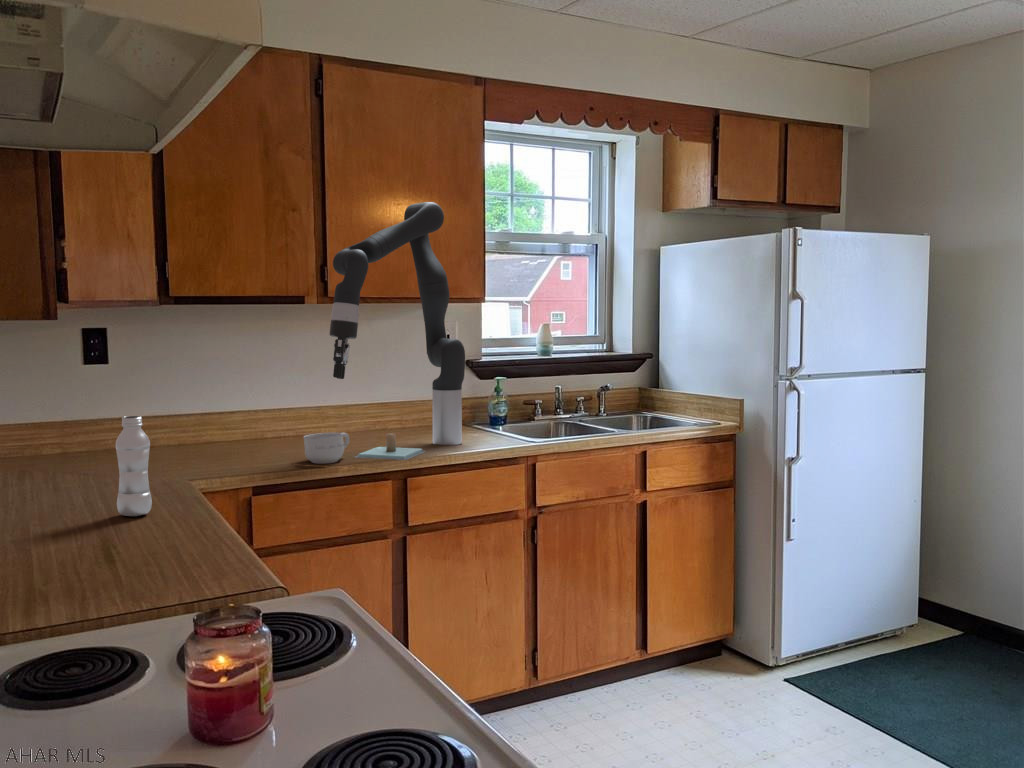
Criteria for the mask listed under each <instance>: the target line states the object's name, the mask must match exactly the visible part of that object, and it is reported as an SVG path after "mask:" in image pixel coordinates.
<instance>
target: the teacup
mask: <svg viewBox="0 0 1024 768" xmlns="http://www.w3.org/2000/svg"><path fill="white" fill-rule="evenodd" d="M302 438H303V443H304V455H305V458H306V459H307V460H308V461H310V462H311V463H313V464H319V465H320V464H321V465H322V464H333V463H337V462H338V461H339V460H340V459H341V458H342V457H343V455H344V451H345V449H346V448H347V446H348V445H349V444H350V440H351V438H350V435H349V434H348V433H347V432H320V433H310V434H306V435H303V437H302Z"/></svg>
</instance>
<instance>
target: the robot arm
mask: <svg viewBox="0 0 1024 768" xmlns="http://www.w3.org/2000/svg"><path fill="white" fill-rule="evenodd" d="M444 221H445V215H444V211H443V209H442V206H440V205H439V204H437V203H436V202H434V201H425V202H417V203H413V204H409V205H408V206H407V207H406V209H405V211H404V214H403V221H401V222H399V223H396V224H394V225H390V226H388V227H386V228H384V229H381V230H379V231H377V232H375V233H373V234H371V235H370V236H368V237H367V238H364V240H362V241H360V242H357V243H355V244H352V245H350V246H347V247H345V248H343V249H341V250H339V251H338V252H337V253H336V254H335V255H334V257H333V260H332V266H333V269H334V271H335V272H336V273H337V274H339V275H342V276H343V280H342V281H341V282H339V283H337V284H336V285H335V288H334V294H333V295H334V297H333V305H332V309H331V316H330V326H329V336H330V337H334V338H336V339H335V340H334V344H333V349H334V350H333V358H332V360H333V364H334V365H333V374H332V376H333V378H336V379H339V380H344V379H345V376H346V375H345V374H346V366H347V365H348V362H349V361H348V360H349V352H350V349H351V348H350V347H351V346H350V343H349V342H348V340H350V339H351V340H355V339H357V338H358V326H359V320H360V319H359V317H360V302H361V301H360V298H361V291H362V288H363V286H364V283H365V281H366V278H367V274H368V270H369V264H371V263H372V264H373V263H376V262H377V261H379V260H382V259H383V258H385V257H386V256H388V255H389V254H391V253H392V252H394V251H396V250H398V249H399V248H401V247H402V246H404V245H406V244H408V243H409V245H410V249H411V252H412V253H411V254H412V258H413V262H414V263H413V264H414V268H415V273H416V280H417V287H418V293H419V297H420V303H421V308H422V314H423V322H424V330H425V344H426V345H425V346H426V354H427V358H428V360H429V363H431V365H433V366H434V367H436V368H437V367H438V368H440V374H439V376H438V377H436V378H434V380H433V381H432V383H431V385H432V387H431V388H432V390H431V391H432V392H431V393H432V398H431V399H432V444H433V445H440V446H441V445H443V446H452V445H453V446H455V445H456V446H457V445H462V443H463V441H462V440H463V439H462V438H463V437H462V436H463V435H462V433H463V432H462V431H463V429H462V428H463V425H462V424H463V422H462V421H463V417H462V415H463V410H462V409H463V403H462V401H463V400H462V399H463V398H462V397H463V395H462V394H463V393H462V390H463V389H462V388H463V383H464V380H465V368H466V366H465V365H466V350H465V347H464V344H463V342H462V341H460V340H459V339H457V338H450V337H449V338H448V336H447V331H446V326H445V325H446V323H445V318H446V314H447V310H448V306H449V301H450V296H451V295H450V287H449V281H448V276H447V273H446V271H445V269H444V267H443V265H442V263H441V262H440V261H439V259H438V258H437V256H436V255H435V253H434V251H433V248H432V245H431V243H430V237H429V234H430V233H434V232H435V233H436V232H437V231H438V230H440V228H441V227H442V225H443V224H444Z"/></svg>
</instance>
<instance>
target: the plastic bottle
mask: <svg viewBox="0 0 1024 768" xmlns="http://www.w3.org/2000/svg"><path fill="white" fill-rule="evenodd" d="M143 424H144V423H143V417H142V416H141V415H127V416H122V417H121V427H123V429H122V430H121V432H120V433H119V435H118V436H117V438H116V439H115V440H116V441H115V449H116V450H115V451H116V453H115V454H116V457H117V464H118V470H119V472H118V474H119V480H118V482H119V483H118V493H117V499H116V508H117V511H118V513H119V514H120V515H121V516H125V517H126V516H127V517H140V516H142V515H146V514H149V513H150V511H151V510H152V503H153V501H152V500H153V499H152V495H151V491H150V483H149V470H148V468H149V459H150V458H149V457H150V449H151V441H150V438H149V437H148V435H147V434H146V433H145V431H144V430H143V429H142V426H144V425H143Z"/></svg>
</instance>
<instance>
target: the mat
mask: <svg viewBox="0 0 1024 768" xmlns="http://www.w3.org/2000/svg"><path fill="white" fill-rule="evenodd" d="M426 452H427V450H423V451H422V452H420V453H418V454H415V455H413V456H411V457H408V458H406V459H396V461H397V460H398V461H400V460H401V461H402V460H403V461H408V460H409V459H412V458H415V457H417V456H419V455H421V454H423V453H426ZM354 458H359V459H374V458H373V457H358V455H355V456H354ZM376 459H379V460H380V459H381V460H394V459H393V458H376Z"/></svg>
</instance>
